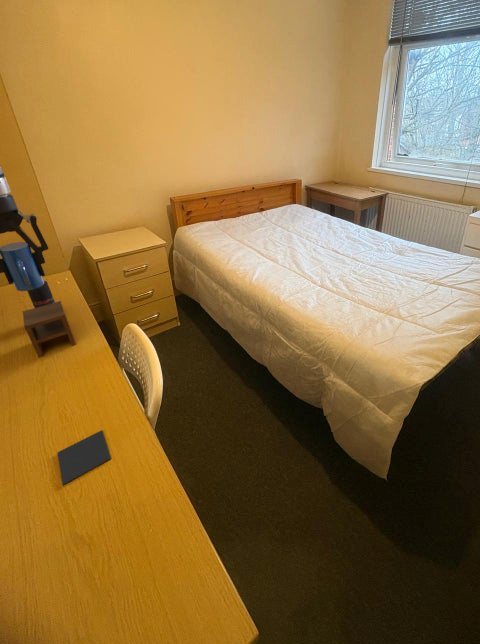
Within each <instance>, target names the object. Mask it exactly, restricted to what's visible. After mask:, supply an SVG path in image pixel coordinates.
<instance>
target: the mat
mask: <svg viewBox="0 0 480 644" xmlns="http://www.w3.org/2000/svg"><path fill="white" fill-rule="evenodd" d="M57 458H58V464H59V470H60V476H61V477H60V478H61V484H62V486H65V485H67V484H69V483H72V482H73V481H74V480H76V479H78V478H80V477H82V476H84V475H85V474H87V473H89V472H91V471H93V470H94V469H96V468H99V467H100V466H101V465H103V464H105V463H107V462H109V461H111V460H112V458H111V454H110V451H109V447H108V444H107V440H106V438H105V434H104V430H99V431H97V432H95V433H93V434H91V435H89V436H87V437H85V438H83V439H81V440H79V441H77V442H75V443H73V444H71V445H69V446H67V447H65V448H63V449H61V450H59V451H57Z"/></svg>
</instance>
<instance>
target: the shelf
mask: <svg viewBox="0 0 480 644" xmlns="http://www.w3.org/2000/svg"><path fill="white" fill-rule="evenodd" d="M22 318H23V319H22V320H23V326H24V330H25V331H26V333H27V335H28V338H29V340H30V342H31V344H32V347H33V348H34V351H35V353H36V355H37V357H38V358H41V357H44V351H43V345H42V343H43V342H47V341H49V340H52V339H55V338H58V337H62V336H65V335H67V336H68V339H69V342H70V345H71V346H72V347H73V346H77V342H76V339H75V336H74V333H73V330H72V327H71V324H70V321H69V319H68V316H67V313H66V311H65V309H64V306H63V303H62V301H61V300H59V301H55V303H51V304H48V305H44V306H41V307H37V308H30V309H26V310H23V311H22Z"/></svg>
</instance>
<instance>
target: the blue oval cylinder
mask: <svg viewBox="0 0 480 644" xmlns="http://www.w3.org/2000/svg"><path fill="white" fill-rule="evenodd" d="M33 252H34V251H33V249H32V248H31V247H30V246H29V245H28V244H27V243H26V242H25V241H17V242H11V243H6V244H4V245H1V246H0V256H1V257H0V258H1V259H3V261H4V263H5V266H6V268H7V270H8V272H9V275H10V277H11V279H12V281H13V286H14V287H15V290H17V291H18V292H27V291H29V290H33V289H36V288H38V287H40V286H42V285H43V284H44V281H45V280H44V276H42V275H41V273H40V270H39V268H38V265H37V263H36V260H35V258H34V255H33Z"/></svg>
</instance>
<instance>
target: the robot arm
mask: <svg viewBox="0 0 480 644" xmlns="http://www.w3.org/2000/svg"><path fill="white" fill-rule="evenodd" d="M11 192H12V190H11V188H10V185H9V183H8V179H7V178H6V175H5V173H4V171H3V169H2V167H1V165H0V235H2V234H5V233H13V232H14V233H16V234H17V235H18V236H19V237H20V238H21V239H22V240H23V242H26V243H27V244H28V245H29V246H30V247H31V250H32V252H33V255H34V258H35V260H36V263H37V265H38V268H39V270H40V273H41V275H42V277H45V276H46V274H45V271H44V269H43V266H42V265H44V264H46V260H45V257H44V254H43V252H45V251H48V250H49V246H48V243H47V242H46V239H45V238H44V236H43V233H42V232H41V230H40V228H39V226H38V222H37V216H36V214H35V213H31V214H24V213H22V212H21V211H20V210H19V208H18V205H17V202H16V201H15V198H14V196H13V195H12V194H10V193H11ZM23 220H25V221H26V223H27V224H30V226H31V229H32V230H33V232H34V234H35V236H36V238H37V240H38V242H39V245H40V246H39V245H38V244H37V243H36V242H35V241H34V240H33V239H32V238H31V236H29V235H28V233H27V232H26V231H25V230H24V229H23V228H22V226H21V224H22V223H23ZM3 273H4V276H5V278H6V280H7V283H8V284H9V285H12V284H13V285H14V283H13V281H12V279H11V277H10V275H9V272H8V270H7V268H6V266H5V263H4V261H3V259H2V258H0V274H3Z"/></svg>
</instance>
